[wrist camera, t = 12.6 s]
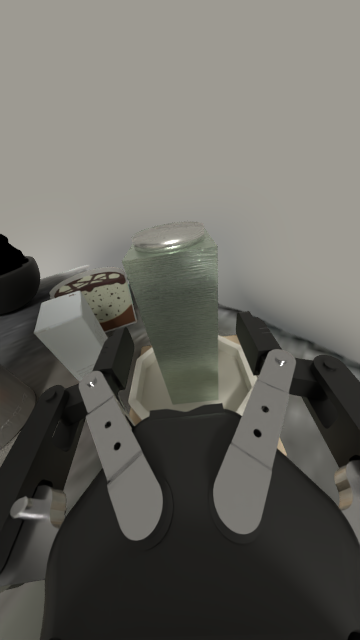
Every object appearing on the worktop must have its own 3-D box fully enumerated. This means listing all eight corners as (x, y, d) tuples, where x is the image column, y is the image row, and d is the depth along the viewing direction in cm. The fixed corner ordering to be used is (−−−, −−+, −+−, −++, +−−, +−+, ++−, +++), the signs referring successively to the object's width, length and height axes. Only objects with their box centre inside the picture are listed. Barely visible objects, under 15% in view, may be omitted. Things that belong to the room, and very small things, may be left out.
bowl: (128, 457, 17) (118, 448, 15) (145, 349, 27) (141, 337, 26) (274, 445, 16) (281, 435, 14) (233, 338, 26) (234, 325, 25)
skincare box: (90, 367, 26) (40, 301, 19) (118, 355, 28) (81, 288, 20) (94, 401, 22) (30, 332, 15) (127, 385, 23) (83, 313, 16)
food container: (139, 304, 39) (124, 260, 32) (144, 319, 34) (128, 271, 28) (82, 322, 36) (53, 278, 30) (79, 341, 32) (45, 294, 25)
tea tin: (172, 404, 19) (117, 249, 9) (172, 366, 23) (134, 228, 13) (218, 399, 19) (217, 233, 8) (210, 362, 23) (202, 217, 12)
